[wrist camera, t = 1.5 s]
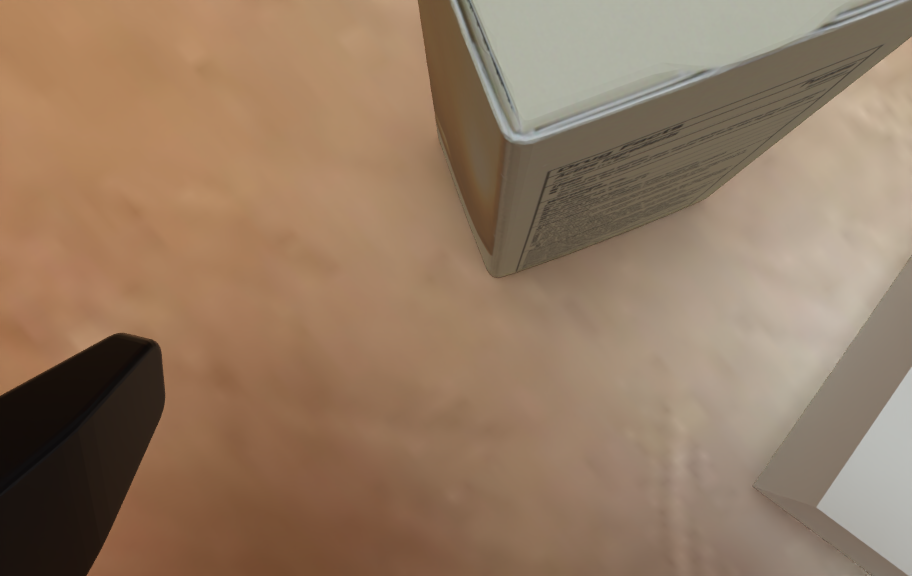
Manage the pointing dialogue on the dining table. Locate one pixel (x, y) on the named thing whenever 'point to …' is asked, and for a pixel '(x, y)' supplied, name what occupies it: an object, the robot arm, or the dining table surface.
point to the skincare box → (626, 104)
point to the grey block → (857, 445)
